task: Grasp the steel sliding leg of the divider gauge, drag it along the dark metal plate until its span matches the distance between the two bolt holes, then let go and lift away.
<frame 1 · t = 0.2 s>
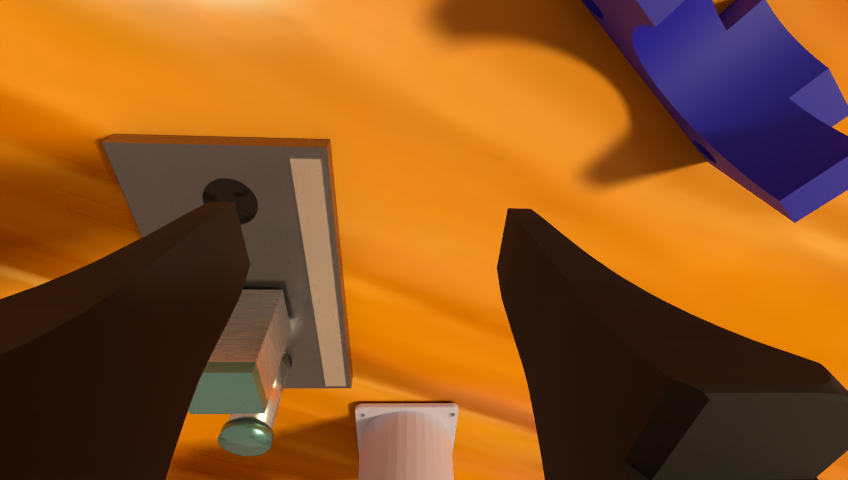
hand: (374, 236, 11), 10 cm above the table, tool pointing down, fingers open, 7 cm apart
cable clip: (685, 38, 18), on the table
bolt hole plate: (259, 281, 25), on the table
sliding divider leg: (239, 347, 22), point 4 cm above the table, slide at 0.0 cm
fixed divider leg: (276, 348, 28), resting on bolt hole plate
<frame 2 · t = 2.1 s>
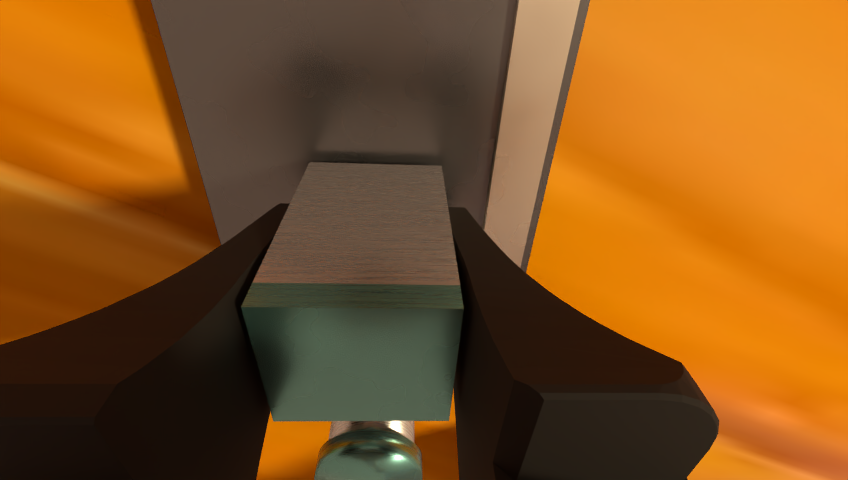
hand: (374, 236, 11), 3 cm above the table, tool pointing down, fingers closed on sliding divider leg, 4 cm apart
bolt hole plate: (379, 162, 13), on the table
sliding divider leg: (370, 274, 10), point 4 cm above the table, slide at 0.0 cm, touching gripper
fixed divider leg: (382, 304, 16), resting on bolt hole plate
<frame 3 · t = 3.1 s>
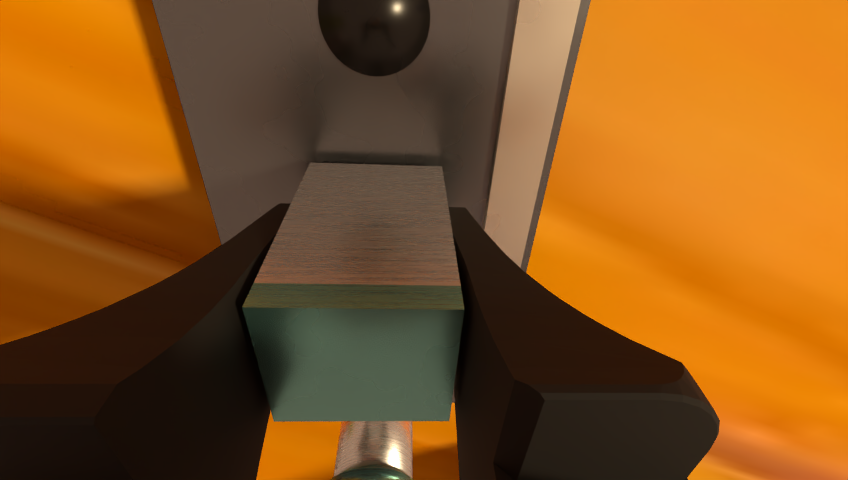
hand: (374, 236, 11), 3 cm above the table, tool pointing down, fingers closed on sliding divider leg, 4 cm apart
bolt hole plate: (380, 215, 14), on the table
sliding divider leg: (370, 274, 10), point 4 cm above the table, slide at 1.9 cm, touching gripper
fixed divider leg: (382, 338, 17), resting on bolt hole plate
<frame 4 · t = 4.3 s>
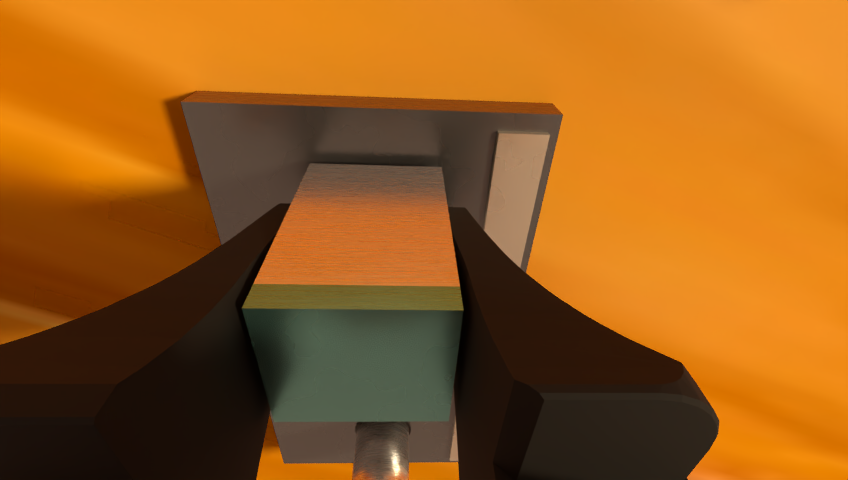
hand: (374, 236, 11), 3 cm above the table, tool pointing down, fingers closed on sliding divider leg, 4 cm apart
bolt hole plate: (382, 323, 17), on the table
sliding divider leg: (370, 275, 10), point 4 cm above the table, slide at 7.0 cm, touching gripper
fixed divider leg: (384, 410, 20), resting on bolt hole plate
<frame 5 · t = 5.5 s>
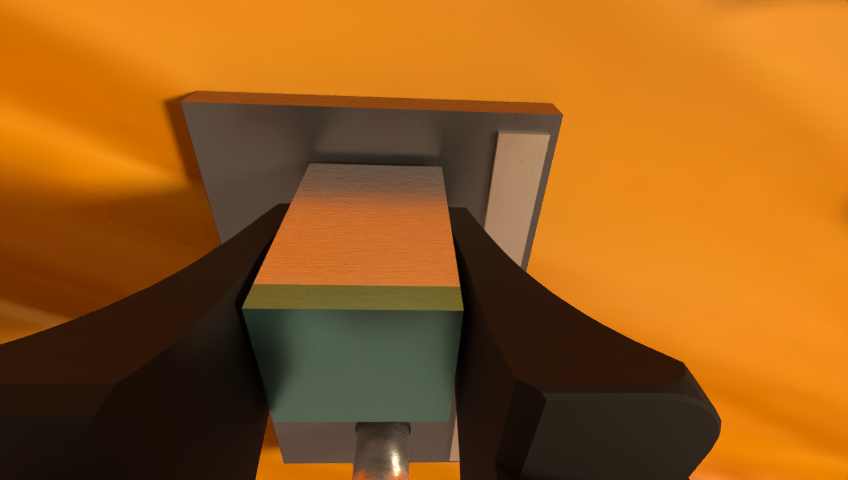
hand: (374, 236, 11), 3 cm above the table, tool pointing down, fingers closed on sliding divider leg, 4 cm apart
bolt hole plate: (382, 323, 17), on the table
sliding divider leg: (370, 275, 10), point 4 cm above the table, slide at 7.0 cm, touching gripper
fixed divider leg: (384, 410, 20), resting on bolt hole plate
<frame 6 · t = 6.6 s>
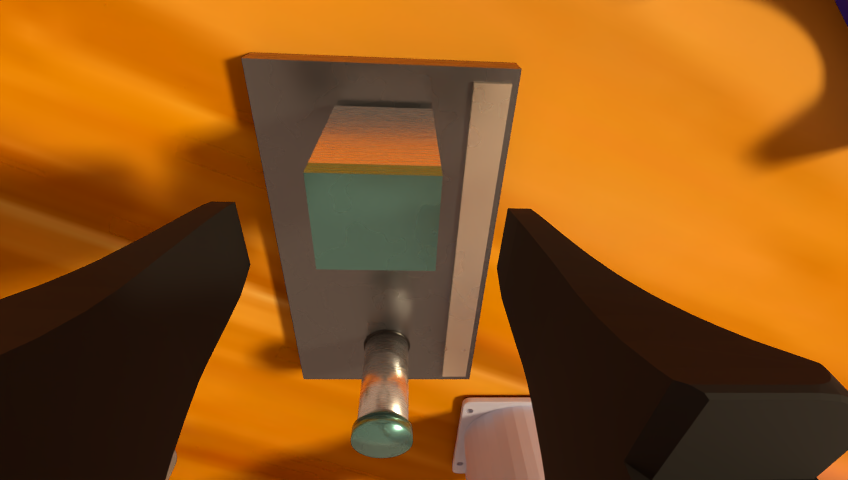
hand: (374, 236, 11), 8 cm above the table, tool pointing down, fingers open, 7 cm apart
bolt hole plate: (386, 249, 21), on the table
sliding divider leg: (380, 180, 14), point 4 cm above the table, slide at 7.0 cm
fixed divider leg: (387, 332, 24), resting on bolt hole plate
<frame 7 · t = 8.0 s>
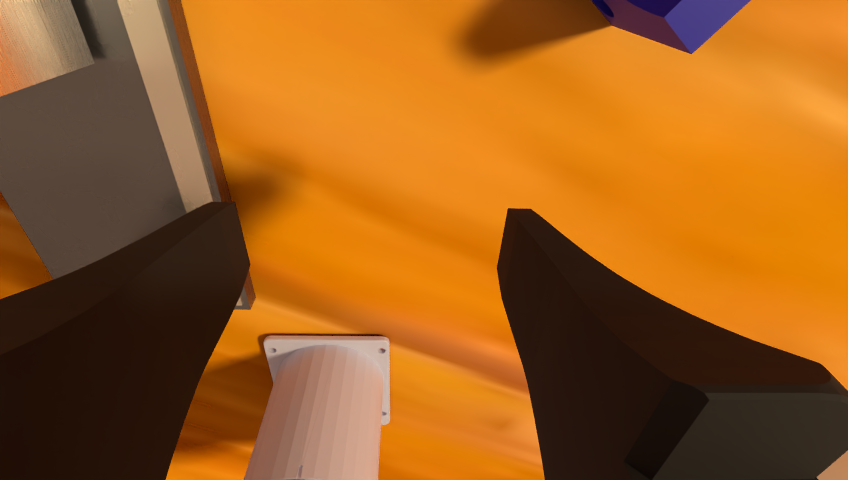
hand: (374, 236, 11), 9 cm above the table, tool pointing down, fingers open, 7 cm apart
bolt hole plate: (111, 154, 19), on the table
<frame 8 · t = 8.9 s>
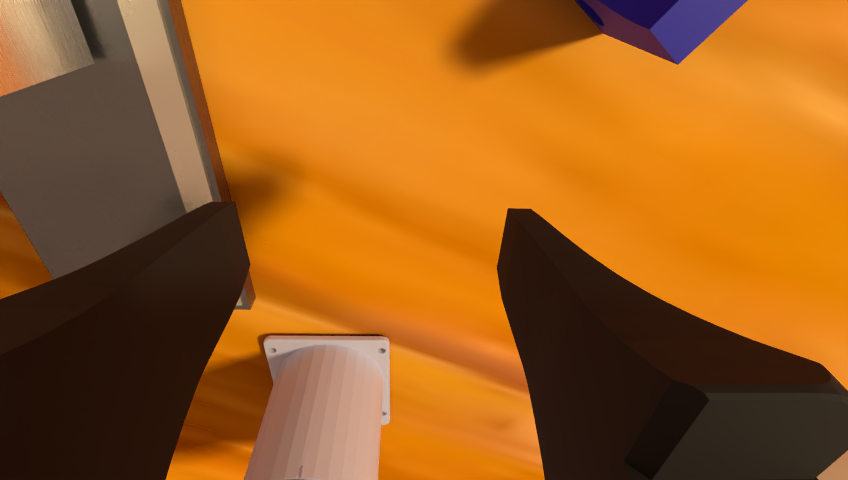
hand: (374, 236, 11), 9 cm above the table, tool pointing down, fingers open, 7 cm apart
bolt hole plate: (111, 154, 19), on the table
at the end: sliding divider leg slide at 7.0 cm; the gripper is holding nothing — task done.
